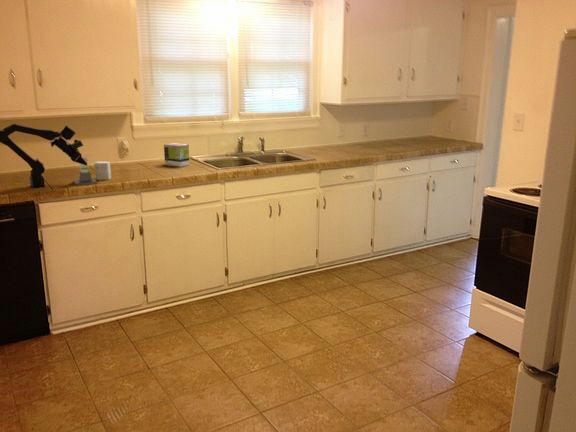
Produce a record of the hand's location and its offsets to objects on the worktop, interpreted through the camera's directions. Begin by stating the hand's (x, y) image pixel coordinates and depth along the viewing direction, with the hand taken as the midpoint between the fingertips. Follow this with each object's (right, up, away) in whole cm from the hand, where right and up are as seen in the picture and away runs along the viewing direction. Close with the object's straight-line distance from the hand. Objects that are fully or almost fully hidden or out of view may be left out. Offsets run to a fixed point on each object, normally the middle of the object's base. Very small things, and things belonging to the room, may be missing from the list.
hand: (86, 163), depth 319 cm
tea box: (+42, +4, +59) cm, 73 cm away
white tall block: (-1, -6, +1) cm, 6 cm away
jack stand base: (-1, -11, +3) cm, 12 cm away
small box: (+6, -9, +13) cm, 17 cm away
